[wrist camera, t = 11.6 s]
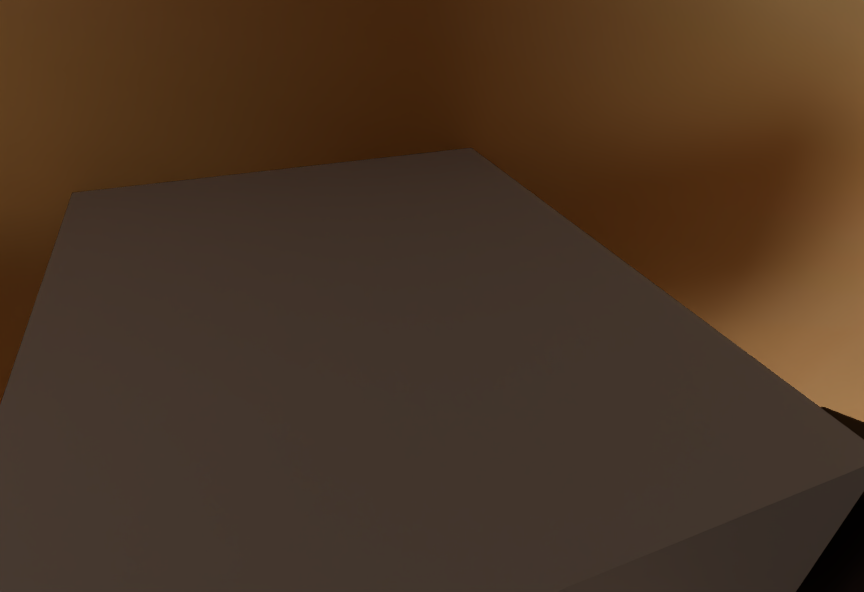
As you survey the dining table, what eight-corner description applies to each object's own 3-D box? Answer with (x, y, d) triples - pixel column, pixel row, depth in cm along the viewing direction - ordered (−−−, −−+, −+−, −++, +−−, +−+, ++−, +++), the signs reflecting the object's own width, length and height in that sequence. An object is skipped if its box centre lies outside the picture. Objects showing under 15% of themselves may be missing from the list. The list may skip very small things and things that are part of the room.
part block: (455, 403, 11) (675, 770, 6) (173, 479, 9) (182, 1049, 5) (469, 147, 8) (887, 457, 3) (72, 191, 6) (-165, 886, 2)
